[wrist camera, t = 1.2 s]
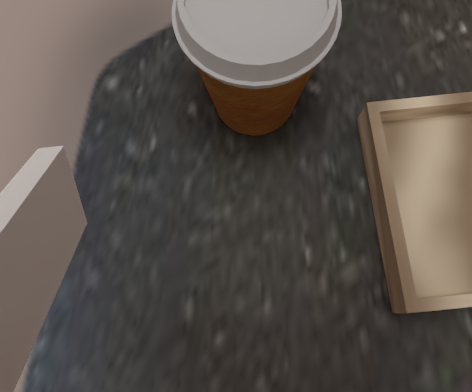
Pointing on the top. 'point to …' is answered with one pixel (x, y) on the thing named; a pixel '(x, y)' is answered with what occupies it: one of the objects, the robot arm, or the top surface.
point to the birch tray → (422, 197)
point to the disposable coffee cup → (255, 53)
